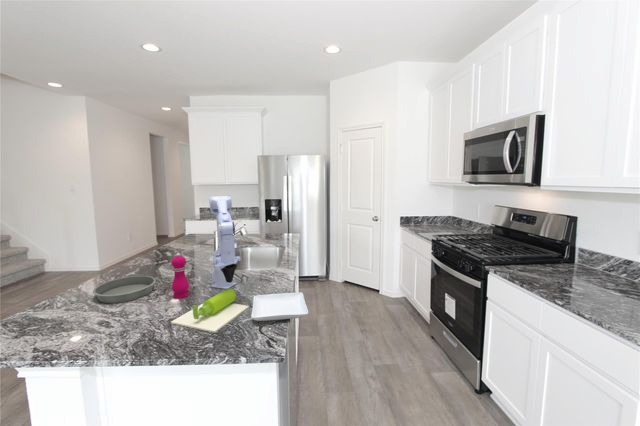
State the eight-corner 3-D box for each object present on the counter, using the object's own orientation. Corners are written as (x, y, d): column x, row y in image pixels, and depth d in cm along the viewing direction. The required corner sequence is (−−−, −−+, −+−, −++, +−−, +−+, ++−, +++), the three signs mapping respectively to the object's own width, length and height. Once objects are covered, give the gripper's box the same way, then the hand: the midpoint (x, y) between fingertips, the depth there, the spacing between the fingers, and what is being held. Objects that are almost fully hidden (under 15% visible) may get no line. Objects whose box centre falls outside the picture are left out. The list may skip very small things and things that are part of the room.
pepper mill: (193, 294, 139) (190, 251, 136) (180, 300, 133) (177, 255, 130) (182, 291, 142) (179, 250, 139) (168, 297, 136) (165, 254, 133)
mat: (170, 323, 112) (170, 321, 112) (209, 300, 132) (209, 299, 132) (214, 332, 105) (214, 331, 105) (249, 307, 125) (249, 306, 125)
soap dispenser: (235, 286, 127) (200, 306, 109) (236, 302, 128) (202, 324, 110) (224, 285, 130) (188, 304, 111) (225, 300, 130) (189, 322, 112)
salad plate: (302, 298, 134) (302, 290, 134) (309, 321, 113) (309, 312, 113) (253, 302, 131) (253, 294, 130) (251, 326, 110) (250, 318, 109)
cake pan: (81, 299, 136) (80, 289, 135) (135, 281, 158) (134, 272, 157) (115, 309, 125) (114, 299, 125) (167, 288, 147) (167, 279, 146)
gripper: (224, 255, 118) (226, 289, 120) (245, 247, 131) (247, 277, 133) (209, 254, 120) (211, 287, 122) (232, 245, 134) (233, 275, 136)
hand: (229, 281), depth 128 cm, fingers closed
